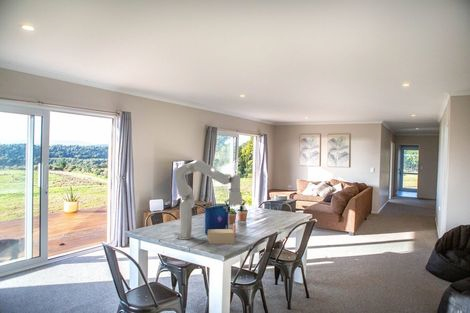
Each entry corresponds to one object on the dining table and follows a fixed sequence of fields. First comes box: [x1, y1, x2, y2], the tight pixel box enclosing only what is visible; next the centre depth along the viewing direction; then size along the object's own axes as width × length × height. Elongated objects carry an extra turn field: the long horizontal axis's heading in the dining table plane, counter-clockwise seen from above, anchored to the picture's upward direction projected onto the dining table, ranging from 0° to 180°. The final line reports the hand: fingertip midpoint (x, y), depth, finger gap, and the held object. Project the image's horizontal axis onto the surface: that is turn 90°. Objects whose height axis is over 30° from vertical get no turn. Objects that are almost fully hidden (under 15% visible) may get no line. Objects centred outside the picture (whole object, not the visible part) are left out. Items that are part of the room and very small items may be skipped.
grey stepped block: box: [232, 222, 237, 242], centre depth 250 cm, size 20×10×13 cm, turn 103°
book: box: [204, 203, 229, 236], centre depth 273 cm, size 22×7×25 cm, turn 126°
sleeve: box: [207, 228, 236, 245], centre depth 250 cm, size 20×12×8 cm, turn 103°
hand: (235, 211), depth 252 cm, fingers open, 9 cm apart
